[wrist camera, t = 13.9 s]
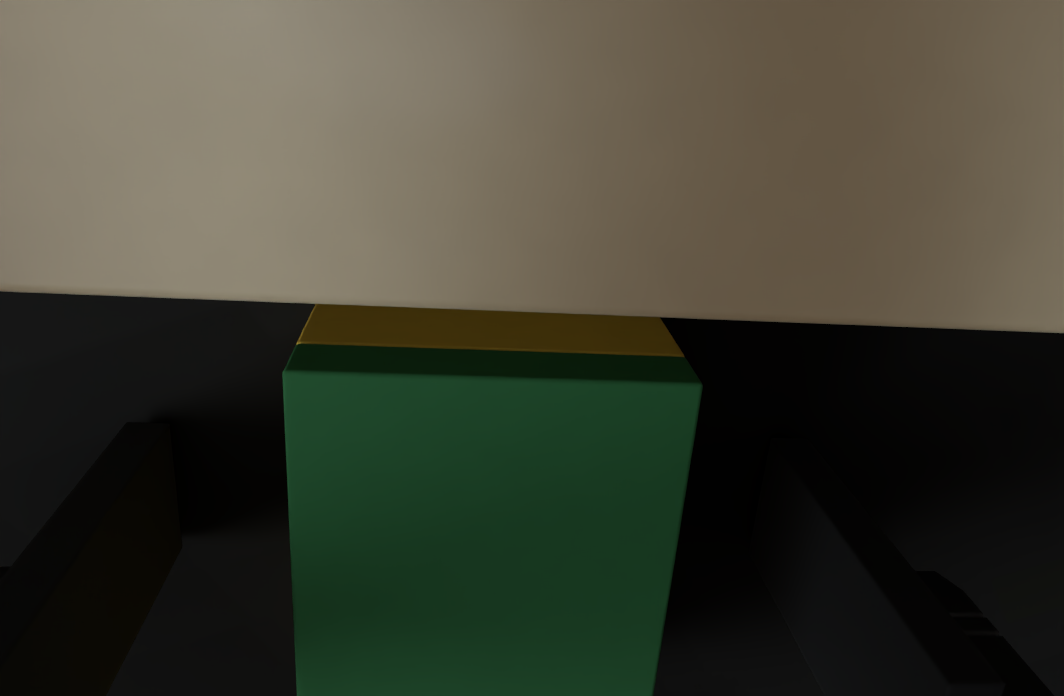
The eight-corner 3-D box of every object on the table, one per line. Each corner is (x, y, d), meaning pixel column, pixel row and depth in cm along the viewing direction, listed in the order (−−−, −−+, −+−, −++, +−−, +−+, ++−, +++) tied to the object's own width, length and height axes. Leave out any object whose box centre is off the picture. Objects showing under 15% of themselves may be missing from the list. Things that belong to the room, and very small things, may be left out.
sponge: (331, 267, 15) (281, 370, 11) (638, 281, 15) (704, 384, 11) (339, 649, 18) (303, 844, 14) (592, 649, 18) (631, 836, 14)
